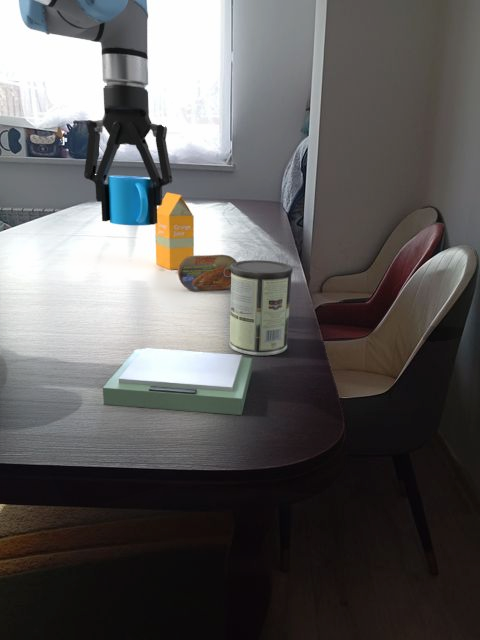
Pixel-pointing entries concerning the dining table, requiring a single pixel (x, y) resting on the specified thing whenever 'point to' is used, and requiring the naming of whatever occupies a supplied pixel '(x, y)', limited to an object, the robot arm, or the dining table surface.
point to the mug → (129, 200)
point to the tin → (206, 272)
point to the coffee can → (259, 307)
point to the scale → (181, 381)
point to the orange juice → (174, 232)
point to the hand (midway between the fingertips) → (130, 221)
